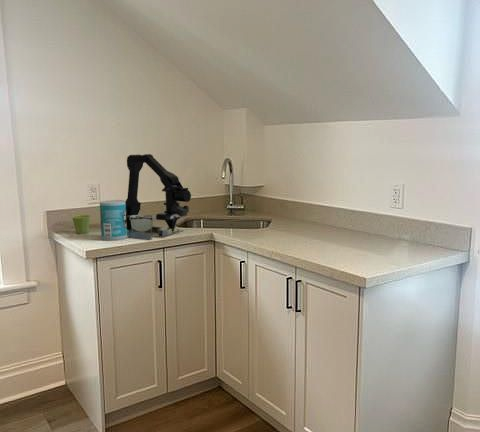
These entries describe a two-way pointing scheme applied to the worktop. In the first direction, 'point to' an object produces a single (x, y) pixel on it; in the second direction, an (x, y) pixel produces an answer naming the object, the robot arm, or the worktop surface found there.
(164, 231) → the clip rail
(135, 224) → the food container
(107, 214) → the food can
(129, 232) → the bracket
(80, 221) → the plant pot
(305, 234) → the worktop surface
